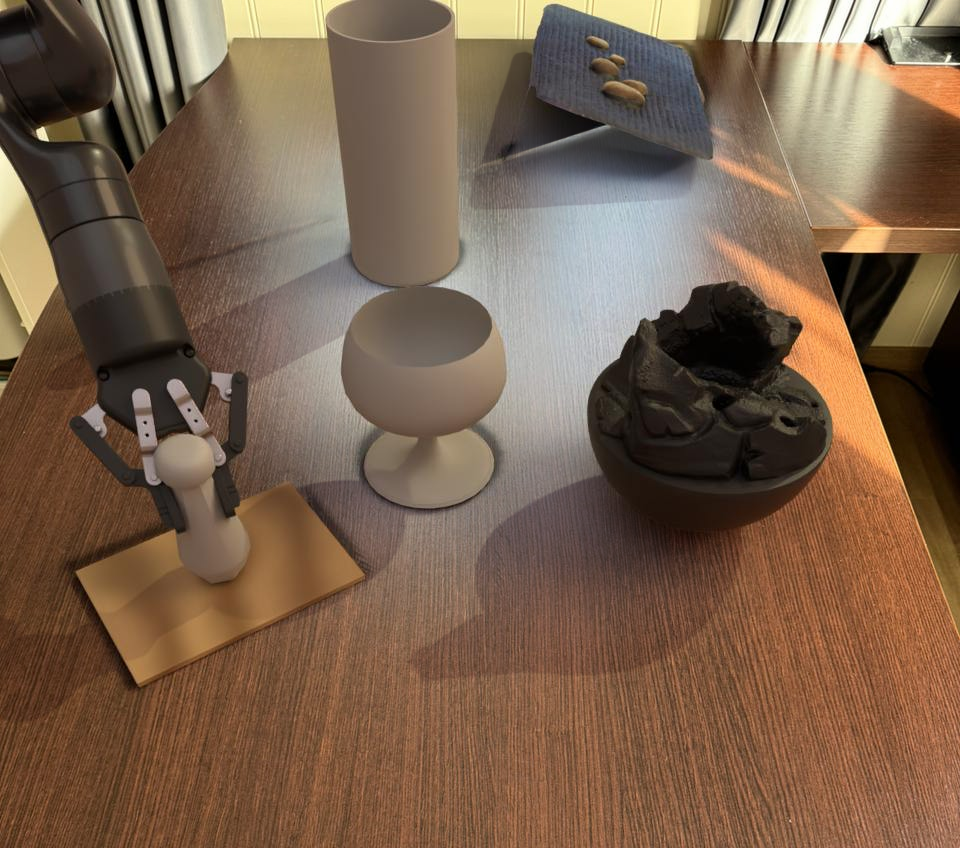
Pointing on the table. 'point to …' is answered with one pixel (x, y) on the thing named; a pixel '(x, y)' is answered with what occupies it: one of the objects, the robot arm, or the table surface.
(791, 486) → the bowl of black rocks
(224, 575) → the salt shaker
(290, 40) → the table surface
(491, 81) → the table surface
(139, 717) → the table surface
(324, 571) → the cork mat
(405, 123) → the cylinder vase
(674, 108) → the mat
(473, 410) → the chalice
